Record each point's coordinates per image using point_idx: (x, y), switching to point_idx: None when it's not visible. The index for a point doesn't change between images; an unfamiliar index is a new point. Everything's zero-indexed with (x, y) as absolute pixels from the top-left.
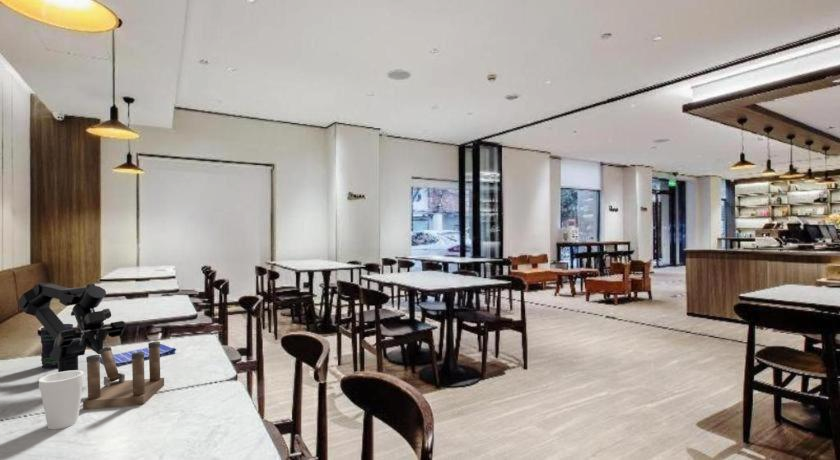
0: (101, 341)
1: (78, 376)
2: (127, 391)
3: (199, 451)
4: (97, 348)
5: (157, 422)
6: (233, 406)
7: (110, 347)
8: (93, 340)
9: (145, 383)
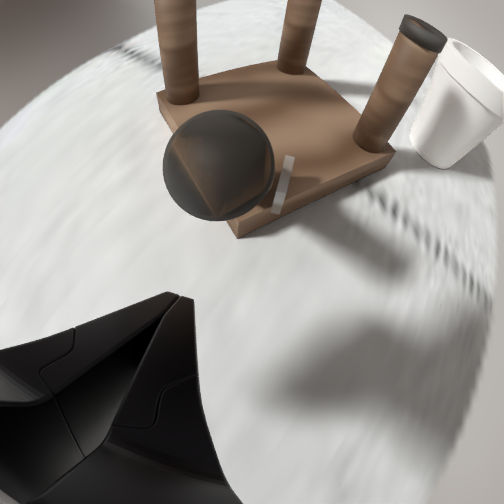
0: (73, 342)
1: (455, 40)
2: (290, 96)
3: (341, 6)
4: (187, 324)
5: (327, 36)
6: (238, 5)
7: (189, 122)
8: (159, 426)
9: (217, 97)
